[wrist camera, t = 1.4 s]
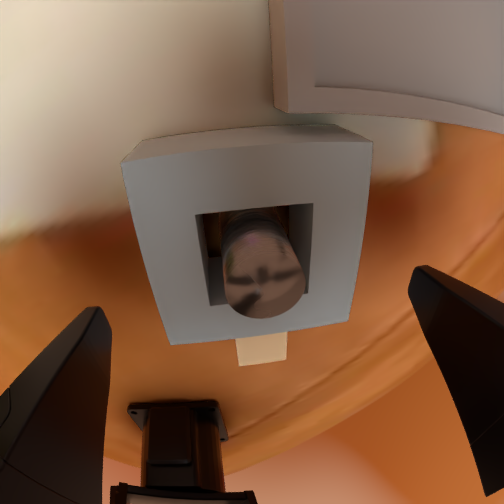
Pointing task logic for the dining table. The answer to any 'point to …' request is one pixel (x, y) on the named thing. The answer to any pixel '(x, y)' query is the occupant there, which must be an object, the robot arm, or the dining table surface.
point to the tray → (391, 59)
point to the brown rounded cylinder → (258, 263)
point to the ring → (246, 197)
